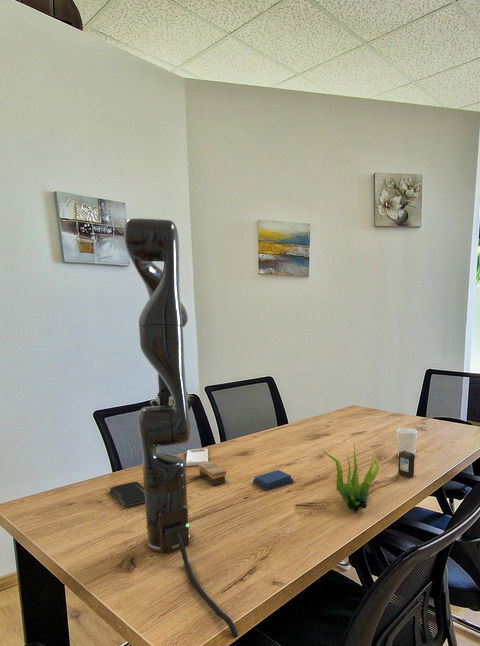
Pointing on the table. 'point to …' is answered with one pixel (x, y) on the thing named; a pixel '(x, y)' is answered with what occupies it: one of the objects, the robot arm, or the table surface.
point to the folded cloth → (272, 479)
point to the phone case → (196, 457)
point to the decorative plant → (354, 484)
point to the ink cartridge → (406, 463)
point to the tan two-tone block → (212, 473)
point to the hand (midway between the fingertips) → (174, 428)
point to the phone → (129, 494)
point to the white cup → (406, 440)
